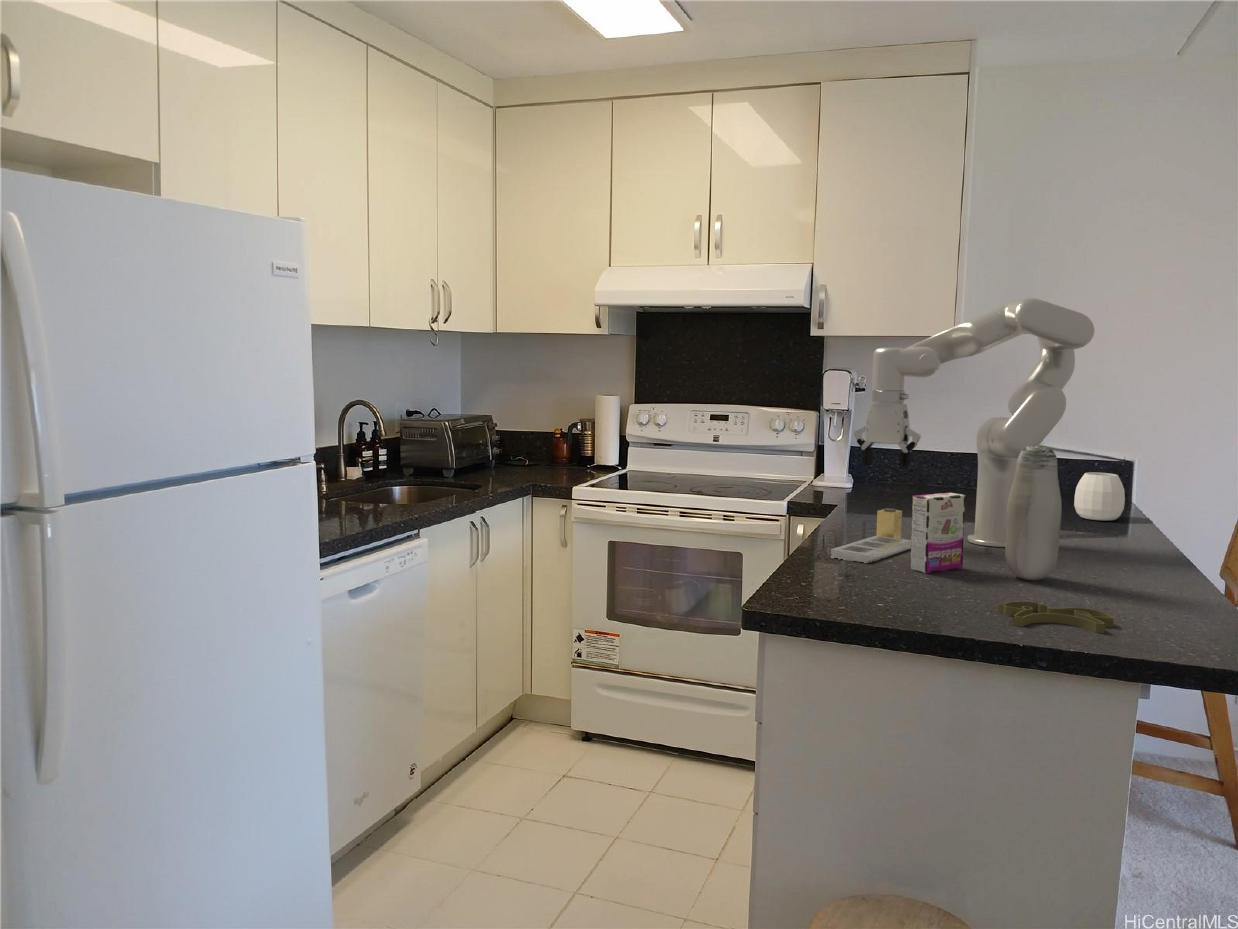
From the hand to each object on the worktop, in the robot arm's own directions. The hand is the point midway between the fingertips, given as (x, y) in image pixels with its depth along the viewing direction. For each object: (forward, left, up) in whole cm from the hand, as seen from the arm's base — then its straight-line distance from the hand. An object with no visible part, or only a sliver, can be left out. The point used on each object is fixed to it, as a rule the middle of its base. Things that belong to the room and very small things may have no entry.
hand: (885, 466), depth 228 cm
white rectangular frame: (-4, +15, -19) cm, 25 cm away
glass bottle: (-40, +17, -19) cm, 48 cm away
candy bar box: (-22, +22, -19) cm, 37 cm away
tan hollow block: (-1, -1, -19) cm, 19 cm away
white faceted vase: (-31, -80, -19) cm, 88 cm away
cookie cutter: (-53, +48, -20) cm, 74 cm away
